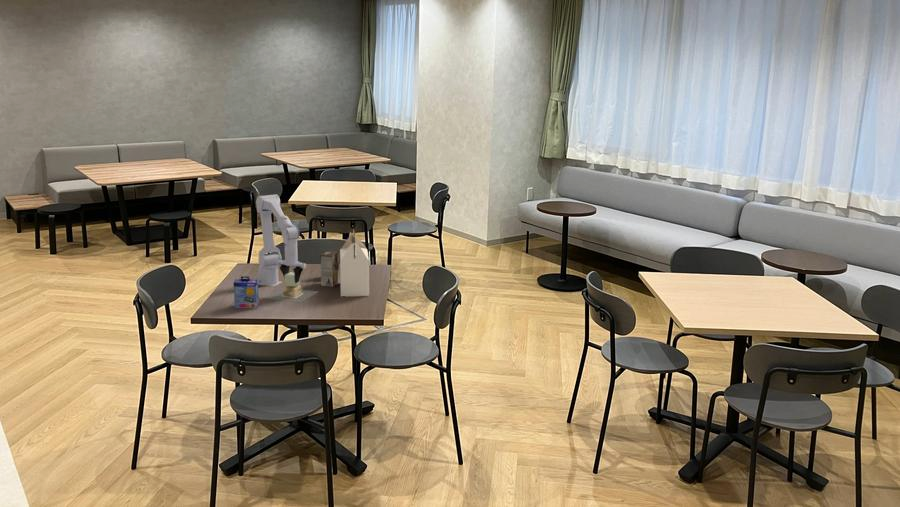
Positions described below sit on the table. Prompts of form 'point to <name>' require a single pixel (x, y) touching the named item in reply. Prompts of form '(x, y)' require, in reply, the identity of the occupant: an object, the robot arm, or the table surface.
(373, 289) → the table surface
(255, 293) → the ink cartridge box
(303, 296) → the board
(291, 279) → the sage top block
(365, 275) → the gable box
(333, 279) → the coffee box
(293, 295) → the maple base block
